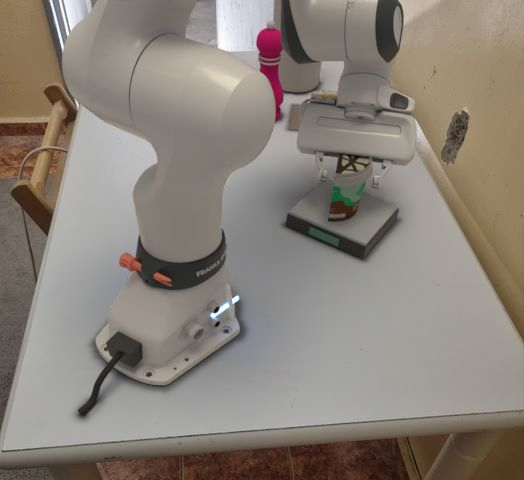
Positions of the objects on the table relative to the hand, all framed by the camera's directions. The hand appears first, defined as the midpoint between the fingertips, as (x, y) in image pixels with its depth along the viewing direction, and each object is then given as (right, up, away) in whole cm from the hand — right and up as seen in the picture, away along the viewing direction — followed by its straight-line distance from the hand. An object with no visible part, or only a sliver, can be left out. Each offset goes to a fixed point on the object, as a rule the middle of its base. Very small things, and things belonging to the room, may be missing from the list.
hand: (348, 184), depth 90 cm
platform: (+1, +25, +32) cm, 41 cm away
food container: (0, -3, +5) cm, 6 cm away
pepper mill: (-14, +26, +33) cm, 44 cm away
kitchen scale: (0, -5, +7) cm, 9 cm away
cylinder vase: (-7, +40, +44) cm, 60 cm away
